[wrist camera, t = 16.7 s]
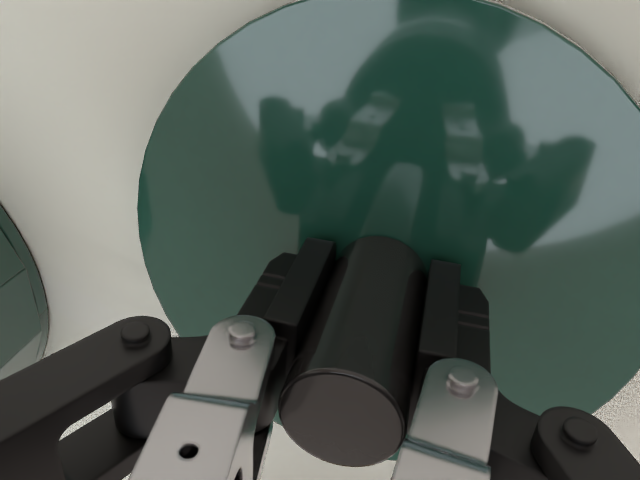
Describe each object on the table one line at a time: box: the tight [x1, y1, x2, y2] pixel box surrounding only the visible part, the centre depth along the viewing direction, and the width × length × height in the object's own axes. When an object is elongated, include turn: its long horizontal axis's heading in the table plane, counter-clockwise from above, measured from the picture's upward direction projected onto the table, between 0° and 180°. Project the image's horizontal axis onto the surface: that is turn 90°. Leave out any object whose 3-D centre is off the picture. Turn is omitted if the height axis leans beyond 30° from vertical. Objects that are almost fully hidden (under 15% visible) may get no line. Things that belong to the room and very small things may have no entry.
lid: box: [137, 0, 640, 467], centre depth 13 cm, size 14×14×6 cm
